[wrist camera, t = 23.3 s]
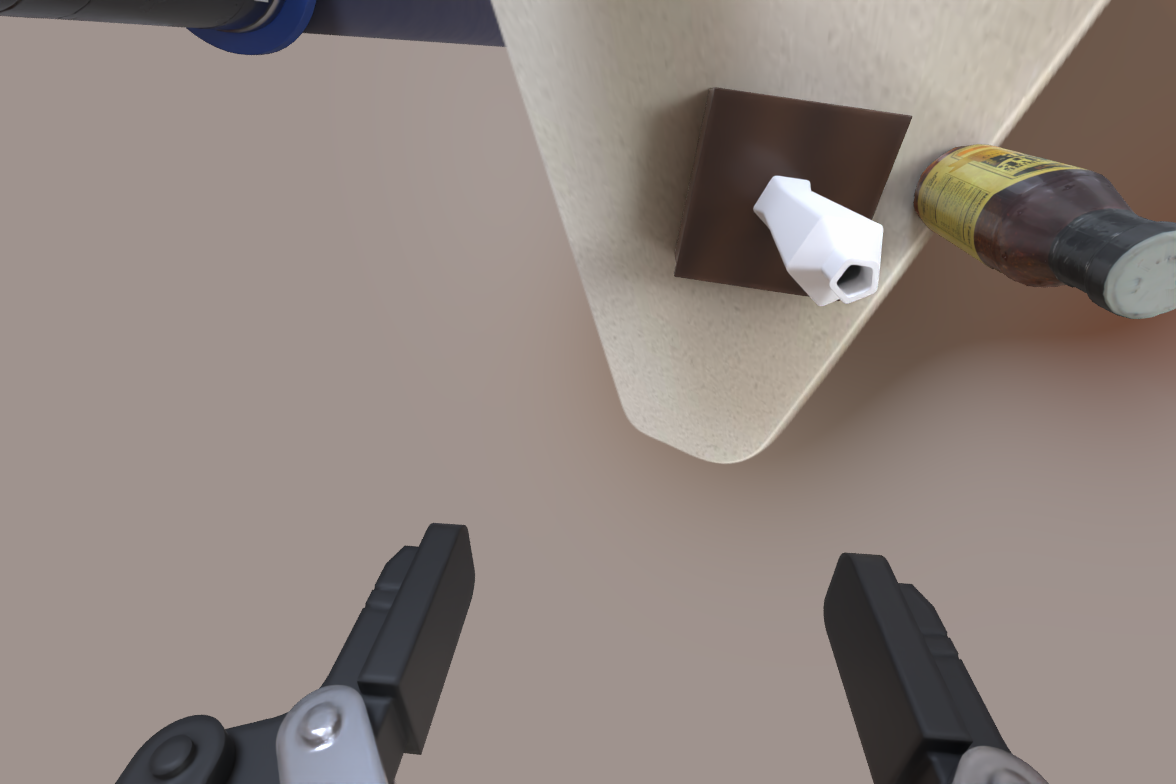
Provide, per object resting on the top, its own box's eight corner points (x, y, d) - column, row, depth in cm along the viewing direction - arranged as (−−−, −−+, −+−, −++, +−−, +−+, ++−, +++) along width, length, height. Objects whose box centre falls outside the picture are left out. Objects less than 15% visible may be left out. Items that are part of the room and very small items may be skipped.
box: (671, 255, 45) (674, 276, 40) (707, 84, 38) (714, 87, 34) (821, 278, 44) (839, 301, 40) (883, 109, 38) (912, 116, 34)
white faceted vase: (740, 233, 38) (787, 321, 26) (759, 167, 36) (820, 228, 23) (805, 243, 38) (884, 336, 25) (827, 178, 36) (927, 244, 23)
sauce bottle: (1021, 162, 39) (1308, 243, 22) (958, 242, 42) (1166, 366, 25) (944, 124, 38) (1179, 177, 21) (886, 208, 41) (1050, 313, 24)
